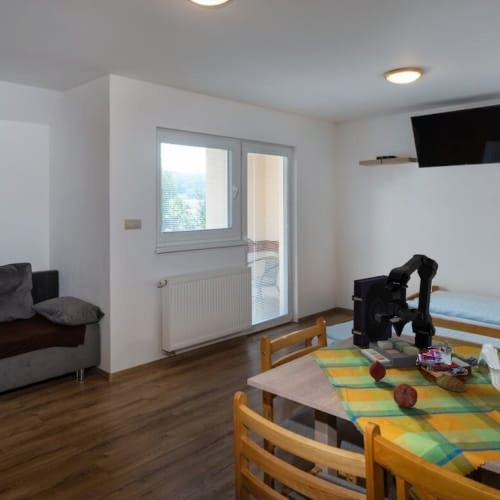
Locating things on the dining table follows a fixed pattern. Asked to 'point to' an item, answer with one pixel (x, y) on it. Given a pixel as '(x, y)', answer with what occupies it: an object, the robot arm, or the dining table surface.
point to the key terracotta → (392, 351)
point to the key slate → (394, 340)
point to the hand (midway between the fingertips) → (398, 336)
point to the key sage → (401, 345)
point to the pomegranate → (405, 395)
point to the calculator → (454, 366)
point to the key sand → (411, 350)
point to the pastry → (451, 383)
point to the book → (370, 311)
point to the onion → (377, 371)
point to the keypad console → (388, 356)
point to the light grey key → (384, 344)
